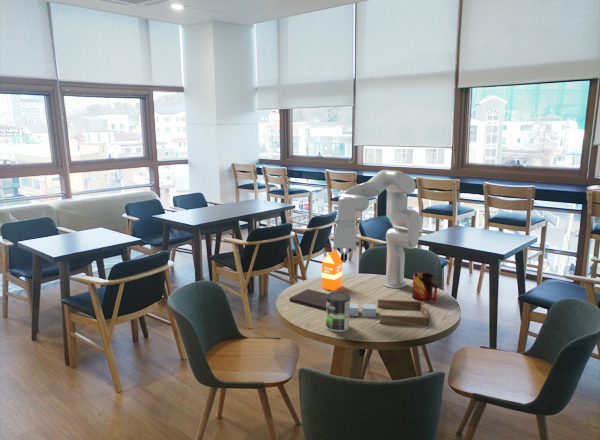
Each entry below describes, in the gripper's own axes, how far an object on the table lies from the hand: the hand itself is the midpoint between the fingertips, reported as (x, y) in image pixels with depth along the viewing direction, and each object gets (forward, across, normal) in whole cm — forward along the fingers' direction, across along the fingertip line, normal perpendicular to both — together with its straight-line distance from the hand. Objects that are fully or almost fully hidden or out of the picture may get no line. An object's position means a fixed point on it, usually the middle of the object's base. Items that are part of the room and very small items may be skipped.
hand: (343, 261), depth 219 cm
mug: (+22, +42, +19) cm, 51 cm away
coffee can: (+24, -1, -20) cm, 31 cm away
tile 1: (+23, +5, -4) cm, 24 cm away
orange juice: (+23, -6, +31) cm, 39 cm away
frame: (+23, +28, -4) cm, 36 cm away
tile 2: (+23, +13, -4) cm, 27 cm away
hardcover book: (+24, -12, +9) cm, 28 cm away
